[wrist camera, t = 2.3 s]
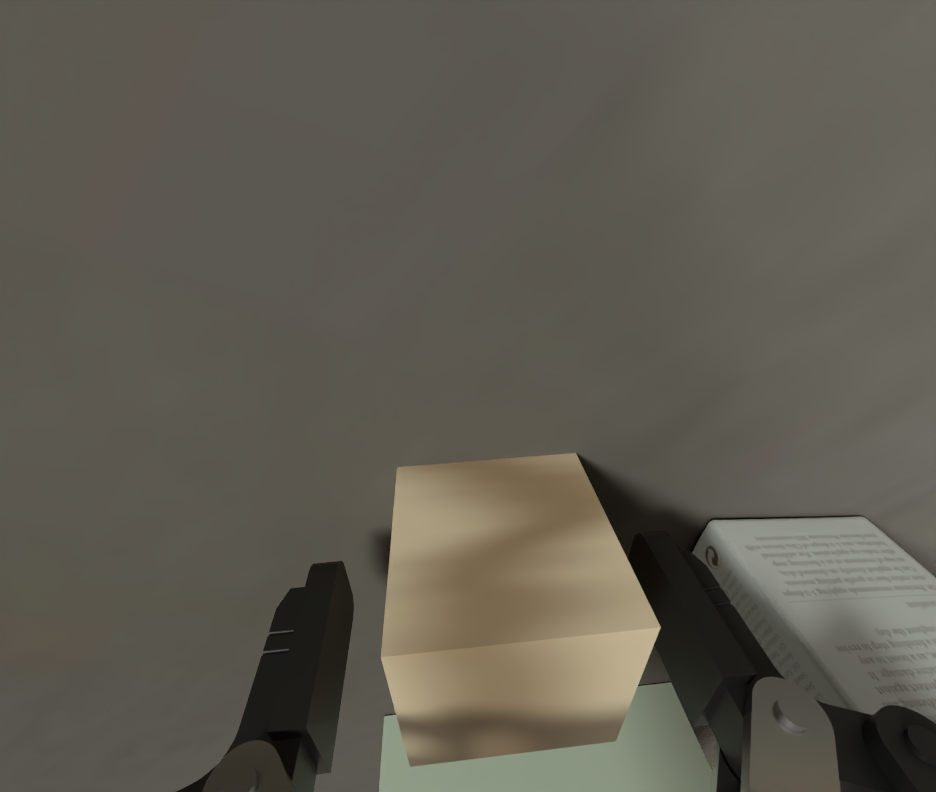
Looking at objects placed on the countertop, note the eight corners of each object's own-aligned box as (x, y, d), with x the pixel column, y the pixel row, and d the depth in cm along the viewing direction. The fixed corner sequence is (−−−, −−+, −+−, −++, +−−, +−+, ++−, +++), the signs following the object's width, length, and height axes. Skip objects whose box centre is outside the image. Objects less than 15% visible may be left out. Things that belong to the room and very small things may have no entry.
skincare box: (664, 593, 16) (1103, 1420, 6) (706, 514, 13) (1569, 1652, 3) (806, 587, 16) (1427, 1312, 6) (869, 512, 14) (1988, 1441, 4)
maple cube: (574, 451, 12) (661, 626, 7) (559, 564, 14) (615, 741, 10) (397, 465, 11) (381, 657, 7) (414, 577, 14) (410, 767, 10)
